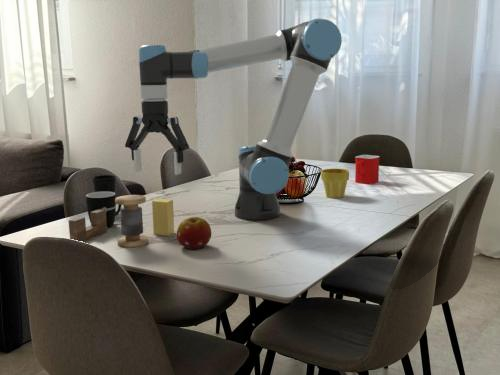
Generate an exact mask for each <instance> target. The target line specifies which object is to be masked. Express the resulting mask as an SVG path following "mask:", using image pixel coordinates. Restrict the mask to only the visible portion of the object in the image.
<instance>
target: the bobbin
mask: <svg viewBox="0 0 500 375" xmlns="http://www.w3.org/2000/svg"><path fill="white" fill-rule="evenodd" d="M116 197H117V198H115V203H116V205H117V206H118V205H121V206H123V207H121V209H120V212H119V214H120V231H121V235H122V237H120V238H118V239H117V245H118V246H119V247H120V248H130V249H131V248H137V247H138V248H139V247H143V246H146V245H148V243H149V238H148V237H147V236H144V235H142V234H143V233H144V221H143V207H141V206H139V205H141V204H144V203H146V201H147V197H146V196H145V195H141V194H129V195H128V194H127V195H120V196H116Z"/></svg>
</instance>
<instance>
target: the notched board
mask: <svg viewBox="0 0 500 375" xmlns="http://www.w3.org/2000/svg"><path fill="white" fill-rule="evenodd" d="M90 216H91V223H90V225H89V226H87V224H86V217H85V216H76V217H73V218H71V219H69V220H68V229H69V230H68V231H69V240H70V239H74V240H78V241H83V243H85V242H88V241H91V240H93V239H94V238H97V237H99V236H101V235H104V234H106V233H108V228H107V222H106V210H105V209H98V210H95V211H92V212H90Z"/></svg>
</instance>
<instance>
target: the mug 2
mask: <svg viewBox="0 0 500 375" xmlns="http://www.w3.org/2000/svg"><path fill="white" fill-rule="evenodd" d="M354 158H355V168H354V169H355V174H354V178H355V179H354V182H355V183H357V184H365V185H373V184H376V183H378V182H379V172H380V170H379V169H380V156H379V155H371V154H361V155H357V156H355V157H354Z"/></svg>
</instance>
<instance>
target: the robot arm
mask: <svg viewBox="0 0 500 375" xmlns="http://www.w3.org/2000/svg"><path fill="white" fill-rule="evenodd" d="M342 43H343V40H342V33H341V30H340V28H339V27H338V26H337V25H336V24H335V23H334V22H333V21H332V20H329V19H325V18H314V19H312V20H309V21H305V22H301V23H299V24H297V25H294V26H291V27H288V28H285V29H281V30H277V32H276V34H271V35H266V36H261V37H256V38H252V39H251V38H250V39H246V40H242V41H241V40H240V41H236V42H235V41H234V42H231V43H225V44H221V45H215V46H210V47H203V48H200V49H195V50H194V49H193V50H190V51H174V52H173V51H172V52H171V51H167V50H166V46H165V45H164V44H145V45H141V46H139V50H138V58H139V59H138V66H139V67H138V68H139V80H140V99H141V100H142V101H141V103H140V104H141V113H142V116H140V115H138V116H133V118H132V124H131V128H130V131H129V134H128V136H127V138H126V141H125V144H124V145H125V146H124V147H125V148H128V149H130V151H131V160H132V161H133V165H134V166H133V167H134V172H135V173H139V172H141V171H143V168H142V152H141V150H142V149H141V148H140V146H142V143H143V142H144V140H145V139H146V138H147V137H148V135H149V133H161V134H162V135H164V137H165V138H166V139H167V141H168V142H169V144H170V145H171V146H172V148H173V149H174V150H175V151H174V152H173V164H174V166H173V167H174V175H176V176H177V175H180V174H182V164H183V163H184V151H186V150H189V149H190V145H189V143H188V142H187V139H186V137H185V135H184V133H183V130H182V127H181V126H180V121H179V118H178V117H177V116H173V117H169V116H168V113H169V105H168V103H169V102H168V101H167V100H166V99H168V82H167V81H168V80H169V79H170V80H171V79H195V80H198V79H205V78H207V77H208V75H209V73H215V72H219V71H225V70H230V69H235V68H240V67H241V68H242V67H244V66H245V67H246V66H250V65H254V64H260V63H265V62H271V61H275V60H281V61H282V62H286V61H287V62H288V61H291V64H292V65H291V67H290V71H289V73H288V75H287V79H286V81H285V83H284V87H283V89H282V91H281V94H280V96H279V100H278V101H277V105H276V107H275V109H274V112H273V114H272V117H271V120H270V123H269V124H268V127H267V130H266V133H265V134H264V138H263V139H262V140H260V141H258V142H257V143H256V144H255V145H247V146H241V147H239V150H238V155H237V157H238V174H239V175H238V176H239V177H238V178H239V179H238V180H239V185H238V186H239V192H238V193H239V194H238V195H237V199H236V203H235V204H234V205H235V206H234V216H235V217H237V218H239V219H244V220H252V221H253V220H255V221H256V220H257V221H258V220H269V219H270V220H271V219H276V218H277V217H279V216H280V215H281V206H280V204H279V200H278V197H277V193H279V192H280V191H282V190H283V189H284V188H285V187H286V185H288V184H287V183H288V181H289V178H290V171H289V166H291V161H292V160H293V153H292V150H291V148H292V146H293V143H294V141H295V138H296V136H297V133H298V131H299V128H300V126H301V123H302V120H303V118H304V115H305V112H306V111H307V107H308V106H309V103H310V100H311V98H312V94H313V92H314V91H315V88H316V85H317V82H318V79H319V77H320V75H321V74H324V73H326V72H327V71H328V68H329V66H330V63H331V61H332V59H333V58H335V57H336V55H337V54H338V53H339V51H340V50H341V46H342ZM142 124H143V127H142V128H141V129H140V127H141V125H142ZM168 125H170V127H171V128H172V129H171V128H170V127H169V126H168ZM139 131H140V132H139ZM138 133H139V134H138Z"/></svg>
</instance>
